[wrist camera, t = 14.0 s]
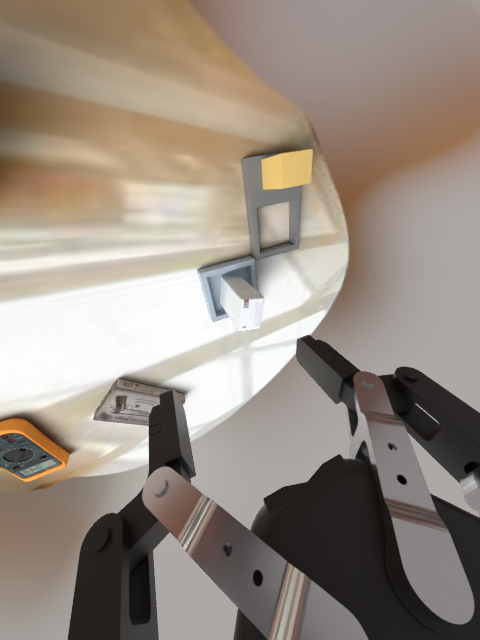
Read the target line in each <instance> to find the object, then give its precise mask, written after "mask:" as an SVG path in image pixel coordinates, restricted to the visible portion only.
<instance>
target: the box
mask: <svg viewBox="0 0 480 640" xmlns="http://www.w3.org/2000/svg"><path fill="white" fill-rule="evenodd" d="M165 391H167V390H165V389H161V388H158V387H153V386H148V385H145V384H140V383H135V382H131V381H127V380H122V379H117V380H116V382H115V383H114V384H113V385H112V387H111V390H110V391H109V392H108V394H107V395H106V396H105V398H104V399H103V400H102V402H101V405H100V407H98V408H97V410H96V411H95V415H94V418H93V420H99V421H105V422H106V421H108V422H118V423H126V424H136V425H146V426H149V415H150V413H151V410H152V407H154V406H157V405H159V404H160V398H159V395H160V393H162V392H165ZM176 393H177V395H178V397H179V399H180V401H181V403H182V405H183V404H184V403H185V397H184V394H183V393H179V392H176Z"/></svg>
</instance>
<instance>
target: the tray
mask: <svg viewBox="0 0 480 640" xmlns="http://www.w3.org/2000/svg"><path fill="white" fill-rule="evenodd" d="M198 274H199V278H200V281H201V285H202V289H203V293H204V296H205V300H206V304H207V307H208V311H209V315H210V317H211V319H212V321H213V322H215V321H218V320H221V319H224V318H227V317H229V316H228V314H227V313H226V311H225V310H224V308H223V307H222V305H221V304H220V287H221V276H240V277H242V278H243V279H244V280H245V281H246V282H247V283H248V284H250V285H251V286H252V287H253V288H254V289H255V290H256V291H258V289H257V279H256V269H255V259H254V258H252V257H251V256H247V257H243V258H239V259H236V260H232V261H228V262H224V263H221V264H217V265H213V266H210V267H206V268H202V269H198Z"/></svg>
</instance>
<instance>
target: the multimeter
mask: <svg viewBox="0 0 480 640" xmlns="http://www.w3.org/2000/svg"><path fill="white" fill-rule="evenodd" d="M68 459H69V453H68V452H67V451H65V450H64V449H62V448H61V447H59V446H58V445H57V444H55V443H54V442H53V441H51V440H50V439H49V438H48V437H46V436H45V435H44V434H43V433H41V432H40V431H39V430H38V429H37V428H36V427H35V426H33V425H32V424H31V423H30V422H29V421H27V420H25V419H22V418H12V419H7V420H4V421H1V422H0V468H2V469H4V470H6V471H8V472H9V473H11V474H13V475H15V476H16V477H18V478H20V479H21V480H23V481H31V480H34V479H37V478H39V477H41V476H44V475H46V474H49V473H51V472H54V471H56V470H59V469H61V468H63V467H65V466H66V465H67V462H68Z"/></svg>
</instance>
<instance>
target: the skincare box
mask: <svg viewBox="0 0 480 640" xmlns="http://www.w3.org/2000/svg"><path fill="white" fill-rule="evenodd" d="M220 304H221V305H222V307H223V308H224V310H225V311H226V313H227V314H228V316H229V317H230V319H231V320H232V322H233V323H234V325H235V326H236V328H237V329H238V331H245V330H251V329H257V328H260V325H261V318H262V311H263V304H264V297H263V296H262V295H261V294H260V293H259V292H258V291H256V290H255V289H254V288H253V287H252V286H251V285H250V284H248V283H247V282H246V281H245V280H244V279H243V278H242V277H240V276H221V287H220Z"/></svg>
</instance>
